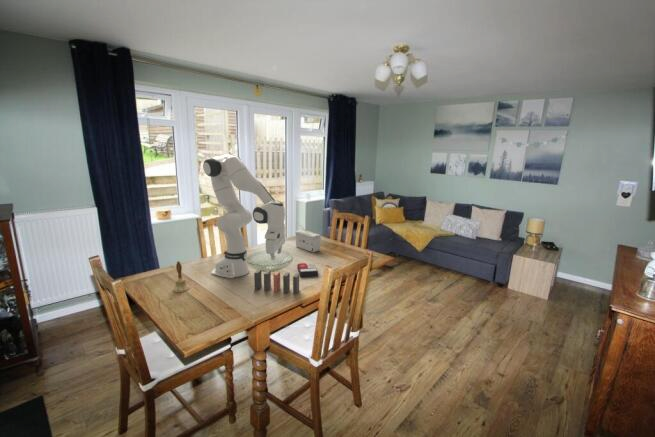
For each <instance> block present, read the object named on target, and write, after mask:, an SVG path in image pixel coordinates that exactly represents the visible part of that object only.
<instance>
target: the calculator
mask: <svg viewBox="0 0 655 437" xmlns="http://www.w3.org/2000/svg"><path fill="white" fill-rule="evenodd" d="M296 266H297V271H298V273H299V278H312V277H318V276H319V275H318V274H319V271H318V269H317V267H316V264H315V263H314V262H306V263H305V262H304V263H298V264H297V265H296Z"/></svg>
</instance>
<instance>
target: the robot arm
mask: <svg viewBox="0 0 655 437" xmlns="http://www.w3.org/2000/svg"><path fill="white" fill-rule="evenodd" d="M202 168H203V171H204V174H206V175H207V176H208V177H210V181H211V185H212V189H213V191H214V195H215V198H216V200H217V202H218V204H219V206H220V207H223V208H224V209H225V210H226V211H227V212H225V213H223V214H221V215H220V216H219V217H218V218H216V227H217V229H218V230H219V231H220V232H221V233H223V235H224V237H225V241H226V250H225V251H224V252H223V253H222V256H223V257H221V258H220V259H219V260H218V261H217V262H216V263H215V267H214V268H213V270H212V271H211V275H214V276H218V277H224V278H228V279H234V278H237V277H242V276H243V277H244V276H245V275H247V274H248V273H250V269H249V266H248V261H247V260H248V254H247V253H248V252H247V248H246V246H247V245H246V244H247V243H246V237H245V236H244V235H242V234H241V228H243V227H246V226H247V225H248V224H250V223H251V222H252V219H253V220H254V222H256V223H257V224H262V225H263V224H264V225H265V224H266V225H267V230H266V232H265V234H264V239H265V252H266V254H268V255H269V256H270V260H271V261H274V260H275V259H276V255H275V254H276V252H277V254H278V255H279V254H281V253H282V249H283V245H285V243H286V233H285V232H286V229H285V228H286V225H285V224H286V223H285V219H286V214H285V212H286V211H285V206H284V203H283V202H281V201H279V200H275V199H274V197H273V196H272V194H270V192H269V191H268V190H267V188H266V187H265V186H264V184H263V183H261V182H260V181H259V180H258V179H256V177H255V176H254V175H253V174H252V173H251V172H250V171H249V169H248V168H247V166H246V164H245V163H244V162H243V161H242V159H241V158H240V156H238V154H235V153H230V154H222V155H218V156H213V157H209V158H207V159H204V161H203V164H202ZM234 187H235V188H236V189H237V190H239V191H243V192H248V193H252V194H254V195H256V196H257V197H258V198H259V199H260V201H261V202H262V203H263V204H262V205H258V206H256V207H254V209H253V210H252V213H251V211H250V210H249V209H247V208H246V207H245V206H244V205H243V204H242V203H241V201H240V200H239V198H238V196H237V193H236V191H235V189H234Z"/></svg>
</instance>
